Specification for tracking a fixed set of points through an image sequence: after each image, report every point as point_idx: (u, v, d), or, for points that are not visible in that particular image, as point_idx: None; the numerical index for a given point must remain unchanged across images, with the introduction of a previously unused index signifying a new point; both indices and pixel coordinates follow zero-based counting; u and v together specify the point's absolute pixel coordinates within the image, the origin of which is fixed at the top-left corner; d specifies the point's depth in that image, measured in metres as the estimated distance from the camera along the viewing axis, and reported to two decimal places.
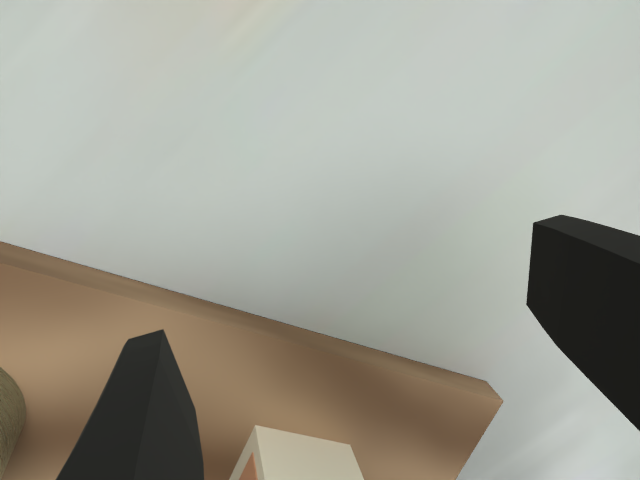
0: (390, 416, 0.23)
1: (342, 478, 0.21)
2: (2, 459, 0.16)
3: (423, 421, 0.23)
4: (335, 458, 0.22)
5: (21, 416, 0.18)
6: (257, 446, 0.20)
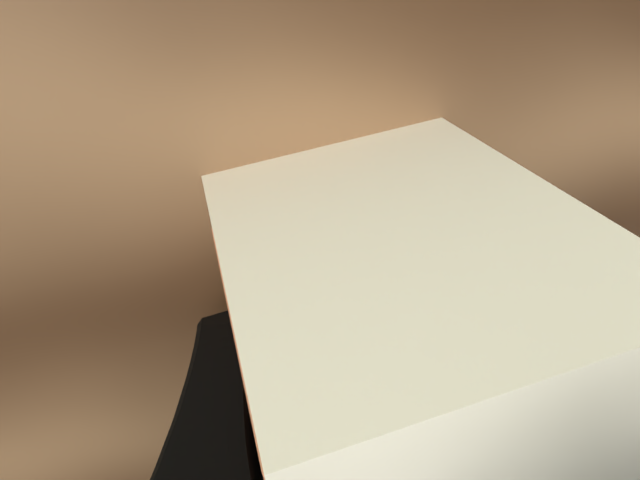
0: None
1: (443, 174, 0.08)
2: None
3: None
4: (413, 149, 0.09)
5: None
6: None
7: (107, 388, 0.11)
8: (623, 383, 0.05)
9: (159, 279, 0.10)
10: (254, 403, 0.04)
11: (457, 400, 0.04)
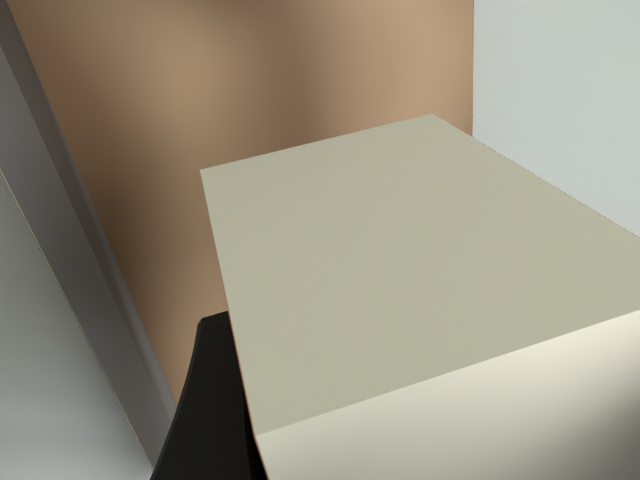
0: None
1: (432, 166, 0.08)
2: None
3: None
4: (404, 143, 0.09)
5: None
6: None
7: None
8: (594, 356, 0.05)
9: None
10: (247, 373, 0.05)
11: (437, 369, 0.05)
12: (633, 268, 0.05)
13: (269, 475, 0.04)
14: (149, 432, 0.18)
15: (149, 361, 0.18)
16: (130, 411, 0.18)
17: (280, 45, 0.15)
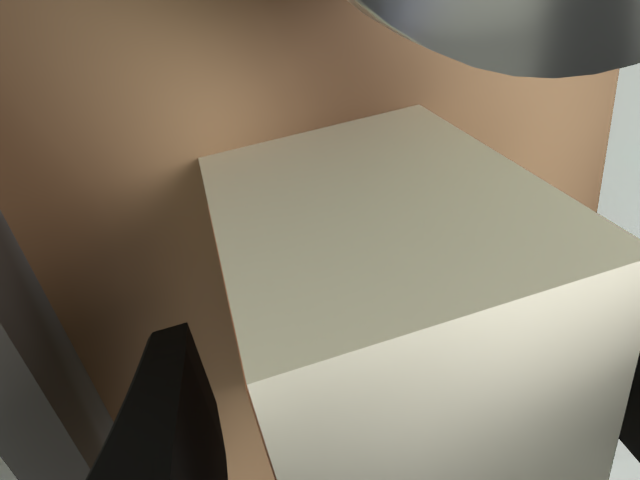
0: None
1: (415, 152, 0.09)
2: None
3: None
4: (390, 132, 0.09)
5: None
6: None
7: None
8: (552, 317, 0.06)
9: None
10: (240, 333, 0.05)
11: (408, 329, 0.05)
12: (590, 241, 0.06)
13: (259, 421, 0.05)
14: None
15: None
16: None
17: (346, 99, 0.10)
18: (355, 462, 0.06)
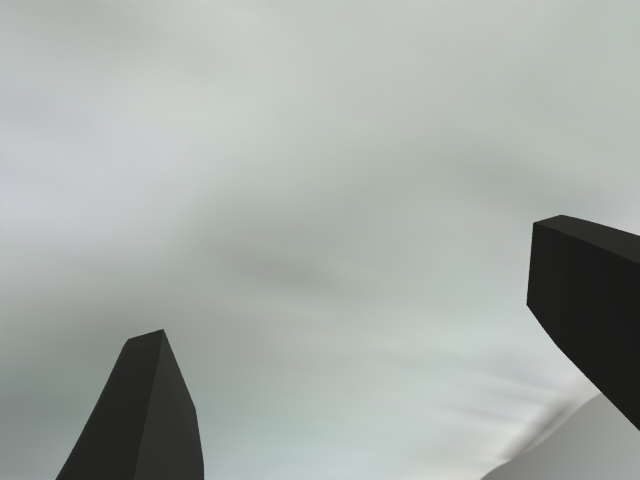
0: None
1: None
2: None
3: None
4: None
5: None
6: None
7: None
8: None
9: None
10: None
11: None
12: None
13: None
14: None
15: None
16: None
17: None
18: None
